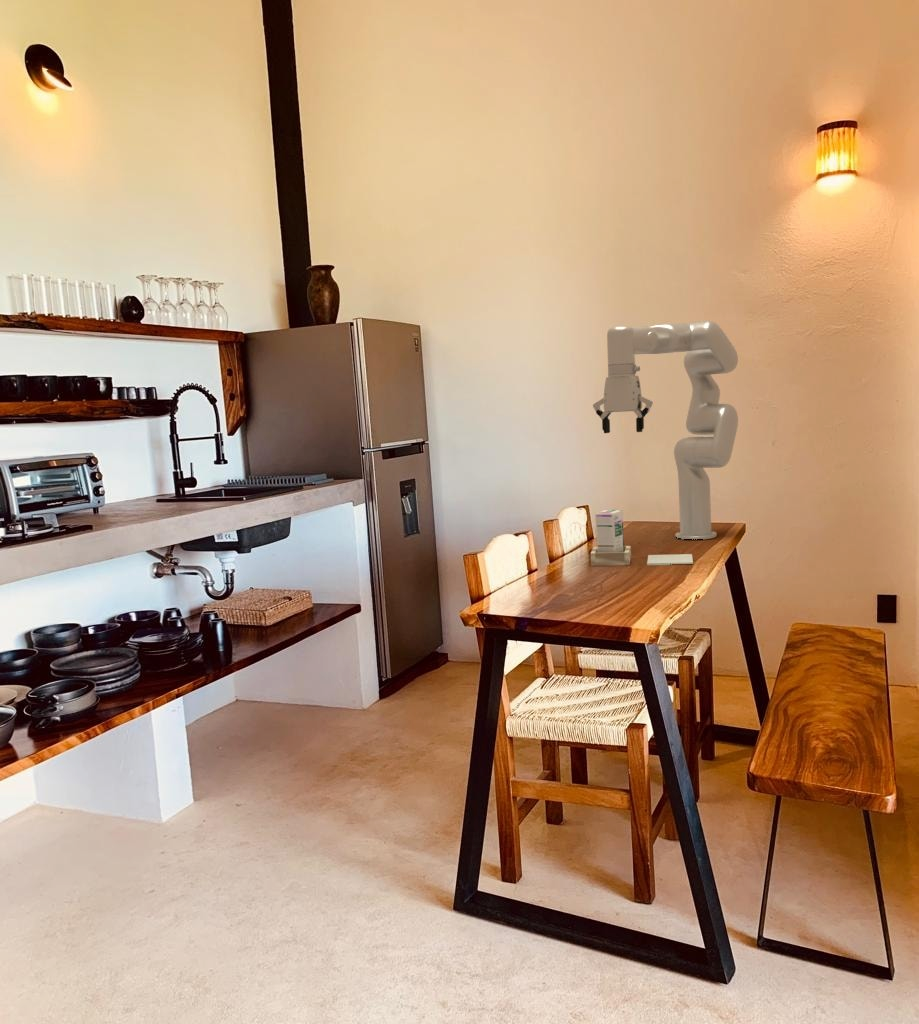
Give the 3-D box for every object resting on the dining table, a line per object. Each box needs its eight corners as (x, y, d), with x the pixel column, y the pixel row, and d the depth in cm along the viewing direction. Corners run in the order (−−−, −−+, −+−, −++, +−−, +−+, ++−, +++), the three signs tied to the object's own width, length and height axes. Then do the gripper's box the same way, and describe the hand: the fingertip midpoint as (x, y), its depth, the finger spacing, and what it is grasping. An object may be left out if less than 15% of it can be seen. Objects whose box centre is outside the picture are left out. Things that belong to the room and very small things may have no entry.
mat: (648, 557, 243) (648, 555, 243) (691, 556, 240) (691, 554, 240) (647, 565, 231) (647, 563, 231) (693, 564, 228) (693, 562, 228)
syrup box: (616, 564, 235) (613, 512, 234) (597, 563, 239) (594, 512, 237) (625, 560, 240) (623, 509, 238) (606, 559, 244) (604, 509, 242)
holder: (594, 558, 246) (593, 546, 245) (631, 558, 243) (630, 545, 243) (591, 565, 236) (590, 553, 235) (629, 565, 233) (628, 552, 233)
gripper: (655, 369, 239) (656, 431, 241) (597, 374, 248) (599, 433, 250) (647, 369, 233) (648, 432, 235) (587, 373, 242) (589, 434, 243)
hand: (623, 432), depth 242 cm, fingers open, 9 cm apart
